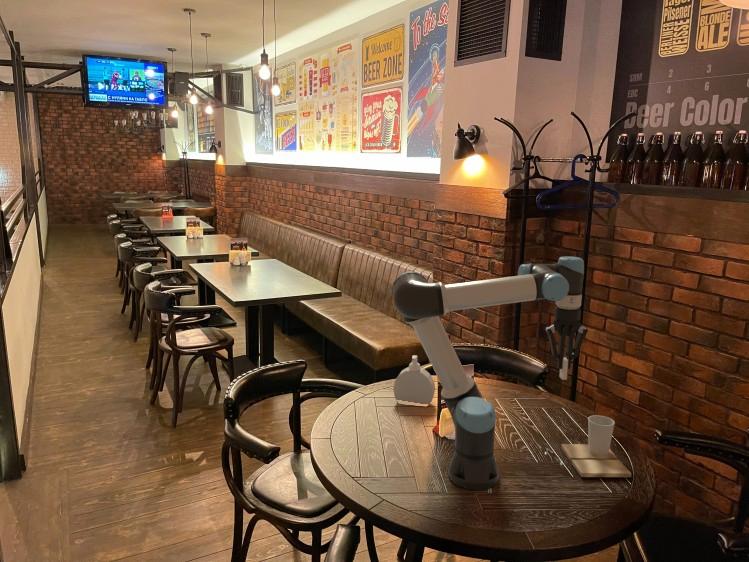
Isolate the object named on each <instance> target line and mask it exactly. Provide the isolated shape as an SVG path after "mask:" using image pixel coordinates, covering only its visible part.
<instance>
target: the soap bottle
mask: <svg viewBox="0 0 749 562" xmlns="http://www.w3.org/2000/svg"><path fill="white" fill-rule="evenodd" d="M411 356H412V357H411V358H412V359H411V362H410V363H409V365H408V367H406V368H404V369H402V370H401V372H400V373H399V374H398V376H397V377H396V379H395V380H394V384H393V388H392V389H393V390H392V391H393V394H394V399H395V400H396V401H397V400H402V401H408V402H414V403H420V404H428V405H429V406H430V405H431V403H432V402H433V399H434V397H435V392H436V384H435V380H434V378H433V377H432V375H431V373H429V372H428V370H426V369H424V368H423V367H421V364H420V363H419V362H418V355H415V354H414V355H411Z"/></svg>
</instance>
